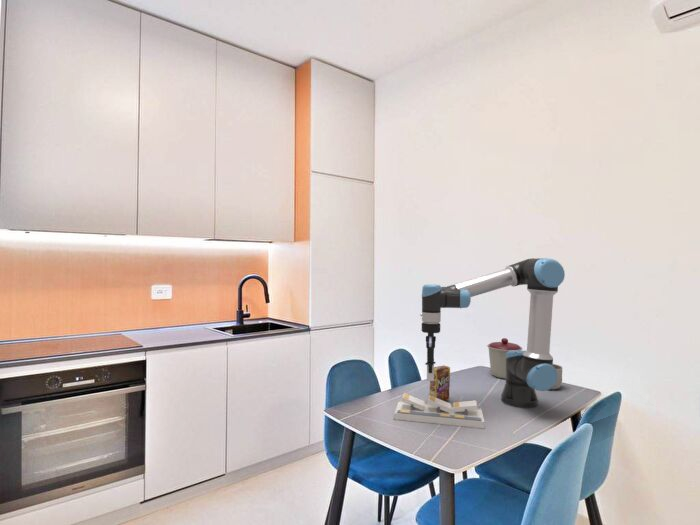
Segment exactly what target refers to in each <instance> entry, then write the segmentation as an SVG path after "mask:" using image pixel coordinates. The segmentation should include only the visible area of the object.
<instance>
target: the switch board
mask: <svg viewBox="0 0 700 525" xmlns="http://www.w3.org/2000/svg"><path fill="white" fill-rule="evenodd" d="M393 417H394V419H393V420H395V421H396V420H397V421H408V422H415V423H416V422H417V423H423V424H424V423H426V424H434V425H435V424H436V425H447V426H455V427H463V428H464V427H465V428H474V429H475V428H477V429H485V419H484V415H483V411H482V408H478V410H473V411H467V412H465V411H461V412H454V405H451V410H450V413H448V412H446V411H443V410H441V409H437V408H436V407H434V406H431V405H429V404H428V403H424V408H423V410H420V409H418V408H415V407H411V405H408V404H406V403H403V402H401V401H398V403H397V406H396V408H395V410H394V416H393Z"/></svg>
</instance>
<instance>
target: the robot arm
mask: <svg viewBox="0 0 700 525" xmlns="http://www.w3.org/2000/svg"><path fill="white" fill-rule="evenodd" d="M565 274H566V273H565V269H564V266H562V264H561V263H560V262H559V261H557V260H556V259H554V258H547V257H544V258H539V257H538V258H527V259H524V260H521V261H518V262H516V263H512V264H510V265H506V266H505V268H504V269H502V270H497V271H493V272H491V273H488V274H485V275H482V276H478V277H474V278H471V279H467V280H465V281H461V282H458V283H454V284H451V285H448V286H442V285H441V284H429V283H428V284H423V286H422V290H421V313H420V314H419V316H420V317H421V321H422V322H421V332H422V333H424V334H425V333H426V334H427V335H426V336H425V342H426V343H425V344H426V345H425V347H426V362H425V364H424V365H426V381H429V382H430V381H434V367H435V365H436V361H435V358H434V357H435V349H436V341H437V339H436V338H437V337H436V336H437V335H436V336H435V334H439V333H441V318H442V317H441V314H442V313H441V312H442V311H441V309H447V308H448V309H466V308H469V307H470V305H471V302H472V301H471V299H472V297H476V296H479V295H483V294H486V293H490V292H493V291H495V290H496V291H497V290H499V289H503V288H506V287H509V286H511V287H518V286H523V285H525V286H526V290H527V291H528V292H529V295H530V298H529V299H530V300H529V310H528V311H529V315H528V328H527V333H528V334H527V343H526V350H523V349H522V350H512V351H508V352H507V353H506V379H505V384H504V386H503V390H502V392H501V396H500V397H501V402H503V403H504V404H507V405H509V406H511V407H516V408H517V407H518V408H535V407H537V406H538V405H539V400H538V399H539V398H538V396H537V395H538V394H537V393H536V391H539V392H545V391H546V392H547V391H549V389H551V387H553V386H554V385H555V384H556V382H557V378H558V374H557V371H556V369H555V368H554V367H553V364H554V357H553V356H552V355H551V354H550V351H551V349H550V348H551V334H552V323H553V322H552V320H553V308H554V306H553V304H554V296H555V295H556V294H557V293H558V290H559V286H560V285H561V284H562V283H563V282H564V280H565V278H566V277H565Z"/></svg>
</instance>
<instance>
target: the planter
mask: <svg viewBox="0 0 700 525" xmlns="http://www.w3.org/2000/svg"><path fill="white" fill-rule="evenodd" d="M553 367H554V368H555V369H556V371H557V374H558V378H557V382H556V384H555V385H554V386H553V387H551V389H549V390H550V391H551V390H555V391H556V390H558V389H560V388H561V386H562V382H563V366H561V365H559V364H556V363H555V364H554V363H553ZM549 390H548V391H549Z"/></svg>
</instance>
